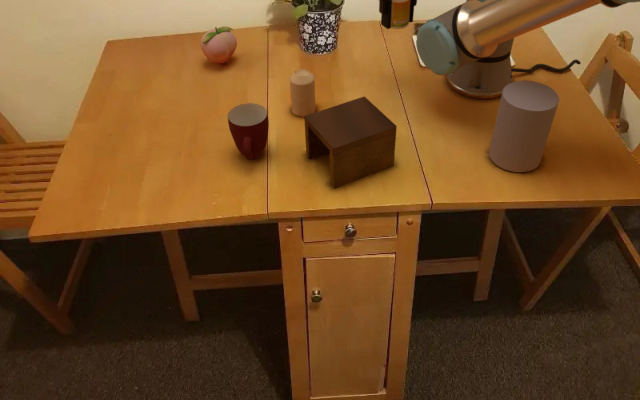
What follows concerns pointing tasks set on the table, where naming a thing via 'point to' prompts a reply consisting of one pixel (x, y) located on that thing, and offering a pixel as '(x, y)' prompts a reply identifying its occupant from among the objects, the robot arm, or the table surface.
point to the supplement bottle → (400, 14)
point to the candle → (302, 92)
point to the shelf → (351, 139)
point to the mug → (249, 129)
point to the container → (523, 125)
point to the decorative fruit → (219, 44)
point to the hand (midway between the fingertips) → (397, 22)
